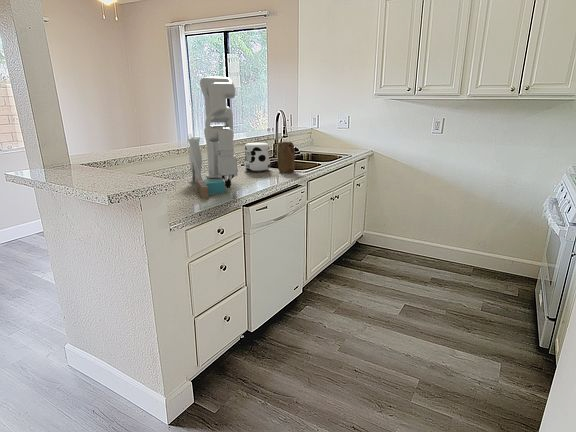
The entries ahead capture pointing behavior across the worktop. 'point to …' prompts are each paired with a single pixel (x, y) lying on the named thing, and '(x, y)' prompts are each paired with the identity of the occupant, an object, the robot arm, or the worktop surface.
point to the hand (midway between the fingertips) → (228, 187)
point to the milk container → (257, 157)
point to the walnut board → (202, 188)
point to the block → (286, 157)
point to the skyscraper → (195, 159)
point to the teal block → (215, 186)
